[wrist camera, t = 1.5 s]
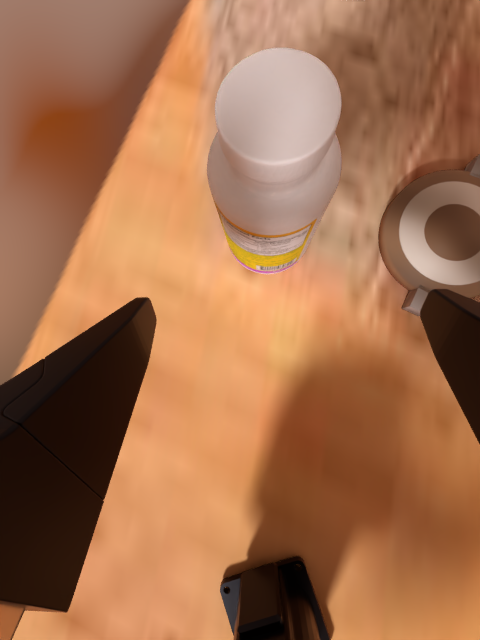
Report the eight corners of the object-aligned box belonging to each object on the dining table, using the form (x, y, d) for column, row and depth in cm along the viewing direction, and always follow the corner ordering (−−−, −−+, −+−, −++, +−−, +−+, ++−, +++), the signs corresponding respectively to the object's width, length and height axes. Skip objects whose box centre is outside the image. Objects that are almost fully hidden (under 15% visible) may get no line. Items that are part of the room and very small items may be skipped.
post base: (472, 340, 21) (487, 339, 20) (350, 285, 22) (356, 281, 21) (537, 191, 22) (555, 181, 20) (416, 144, 23) (425, 132, 21)
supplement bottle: (259, 184, 23) (261, -11, 10) (324, 228, 23) (410, 76, 10) (211, 246, 23) (153, 125, 10) (275, 293, 22) (297, 224, 10)
